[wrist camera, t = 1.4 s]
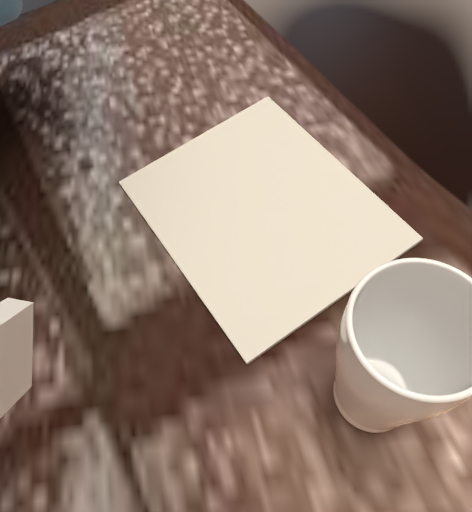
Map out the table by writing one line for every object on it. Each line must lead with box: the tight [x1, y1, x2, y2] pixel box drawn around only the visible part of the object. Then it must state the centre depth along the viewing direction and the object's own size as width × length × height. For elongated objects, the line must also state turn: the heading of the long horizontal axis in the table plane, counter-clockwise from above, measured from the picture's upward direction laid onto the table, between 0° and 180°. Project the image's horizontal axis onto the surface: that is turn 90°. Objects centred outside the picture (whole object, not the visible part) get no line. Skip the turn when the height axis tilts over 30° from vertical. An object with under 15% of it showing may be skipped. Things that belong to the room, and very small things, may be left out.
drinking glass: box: [333, 258, 472, 433], centre depth 26 cm, size 7×7×15 cm
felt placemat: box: [119, 97, 423, 365], centre depth 41 cm, size 22×18×1 cm
